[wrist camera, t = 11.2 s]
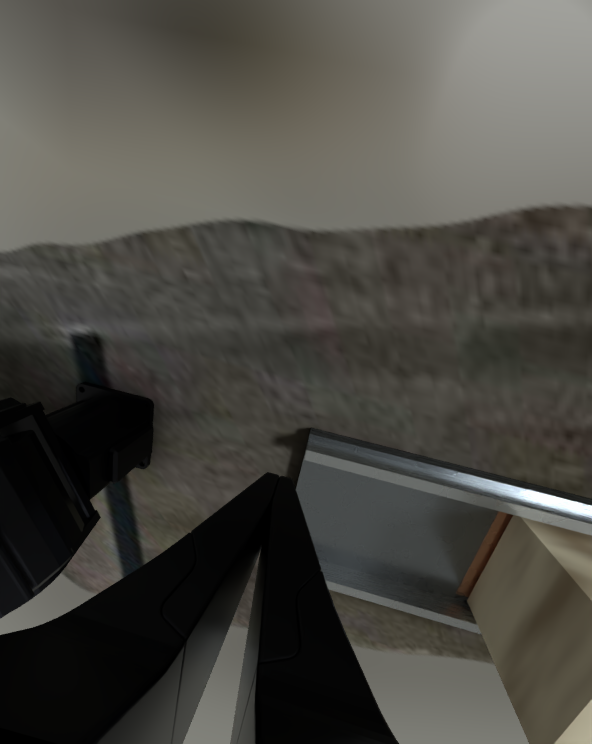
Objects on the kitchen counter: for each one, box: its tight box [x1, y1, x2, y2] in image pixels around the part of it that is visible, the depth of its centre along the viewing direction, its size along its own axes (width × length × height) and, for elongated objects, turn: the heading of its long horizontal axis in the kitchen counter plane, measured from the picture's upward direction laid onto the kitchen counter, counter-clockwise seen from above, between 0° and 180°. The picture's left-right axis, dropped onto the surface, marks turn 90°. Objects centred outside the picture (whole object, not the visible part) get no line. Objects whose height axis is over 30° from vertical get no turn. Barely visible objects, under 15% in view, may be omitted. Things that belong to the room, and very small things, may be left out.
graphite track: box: [296, 428, 592, 634], centre depth 20 cm, size 29×12×4 cm, turn 77°
